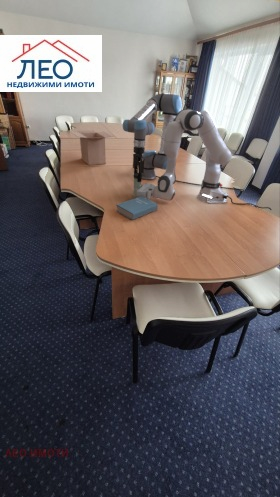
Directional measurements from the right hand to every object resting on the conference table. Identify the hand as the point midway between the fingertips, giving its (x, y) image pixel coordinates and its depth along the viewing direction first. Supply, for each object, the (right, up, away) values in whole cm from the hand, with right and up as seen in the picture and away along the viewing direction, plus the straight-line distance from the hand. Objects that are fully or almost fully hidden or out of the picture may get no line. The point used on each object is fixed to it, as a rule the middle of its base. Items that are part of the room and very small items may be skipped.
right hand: (135, 187), depth 166 cm
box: (-47, +48, +71) cm, 97 cm away
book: (+1, -21, -17) cm, 27 cm away
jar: (0, -5, +4) cm, 6 cm away
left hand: (+1, +4, -4) cm, 6 cm away
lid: (+1, +8, -6) cm, 10 cm away
